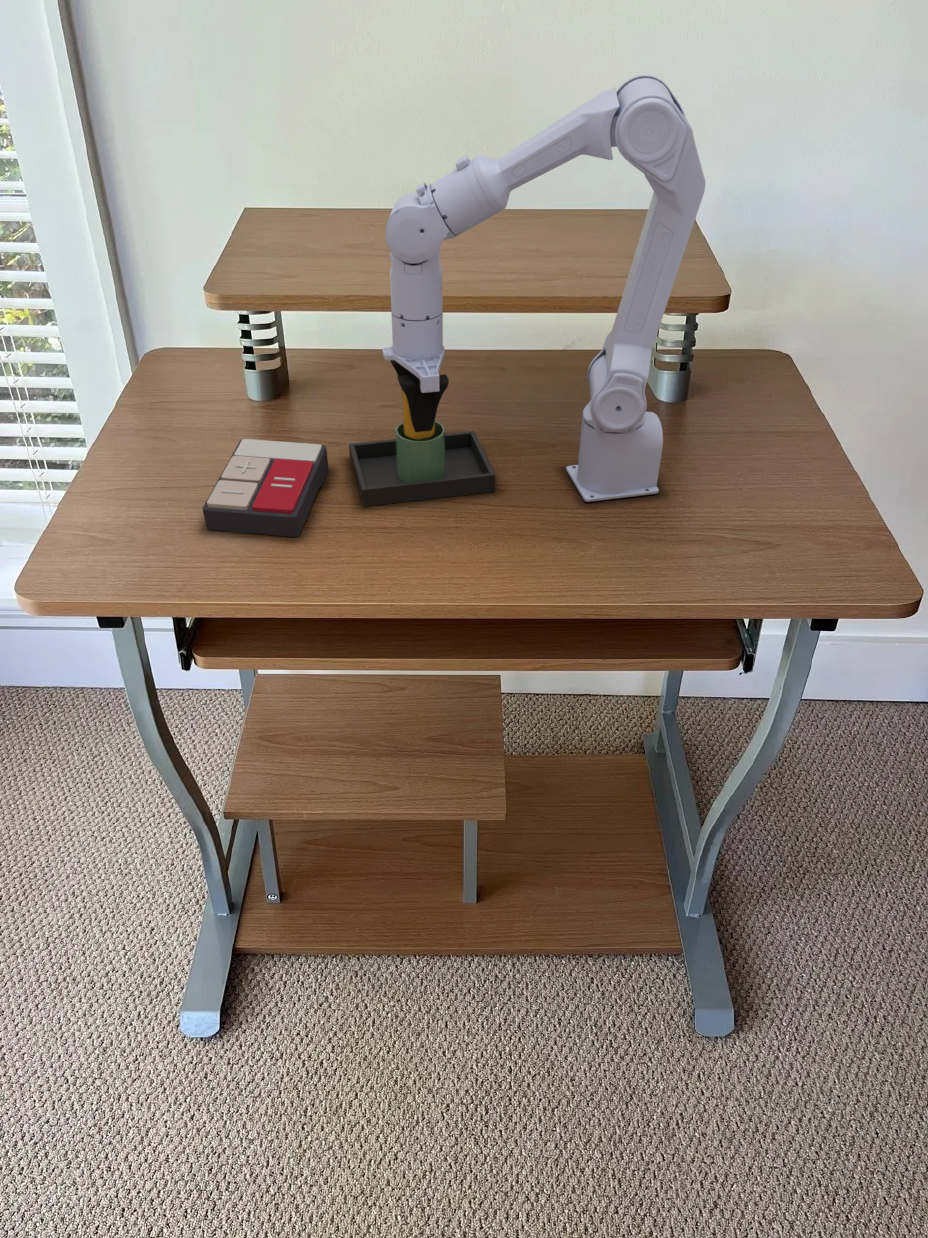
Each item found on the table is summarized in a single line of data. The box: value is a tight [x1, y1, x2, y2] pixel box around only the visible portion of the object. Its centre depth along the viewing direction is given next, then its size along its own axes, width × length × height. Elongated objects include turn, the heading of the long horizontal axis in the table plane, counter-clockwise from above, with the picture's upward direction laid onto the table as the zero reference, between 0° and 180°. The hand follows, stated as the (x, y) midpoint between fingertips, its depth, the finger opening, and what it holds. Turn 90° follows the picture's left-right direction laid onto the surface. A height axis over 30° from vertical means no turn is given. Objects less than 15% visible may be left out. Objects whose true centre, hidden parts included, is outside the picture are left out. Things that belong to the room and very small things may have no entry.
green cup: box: [394, 420, 446, 482], centre depth 121 cm, size 6×6×6 cm
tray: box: [348, 430, 496, 508], centre depth 122 cm, size 16×11×2 cm
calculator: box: [202, 438, 330, 538], centre depth 117 cm, size 11×4×15 cm
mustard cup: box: [401, 389, 436, 439], centre depth 117 cm, size 4×4×6 cm
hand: (419, 421), depth 118 cm, fingers closed on mustard cup, 4 cm apart
